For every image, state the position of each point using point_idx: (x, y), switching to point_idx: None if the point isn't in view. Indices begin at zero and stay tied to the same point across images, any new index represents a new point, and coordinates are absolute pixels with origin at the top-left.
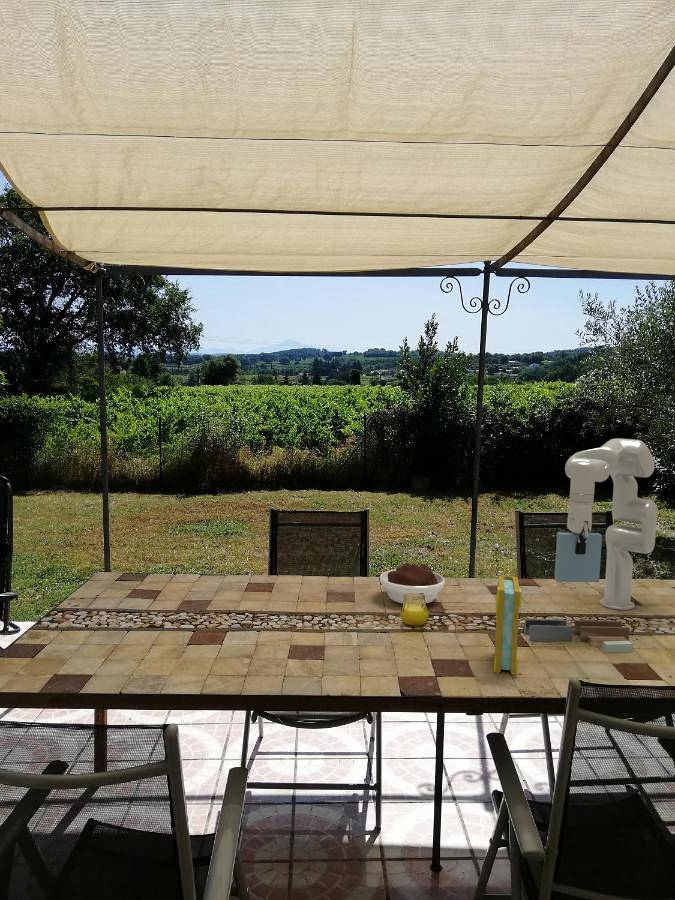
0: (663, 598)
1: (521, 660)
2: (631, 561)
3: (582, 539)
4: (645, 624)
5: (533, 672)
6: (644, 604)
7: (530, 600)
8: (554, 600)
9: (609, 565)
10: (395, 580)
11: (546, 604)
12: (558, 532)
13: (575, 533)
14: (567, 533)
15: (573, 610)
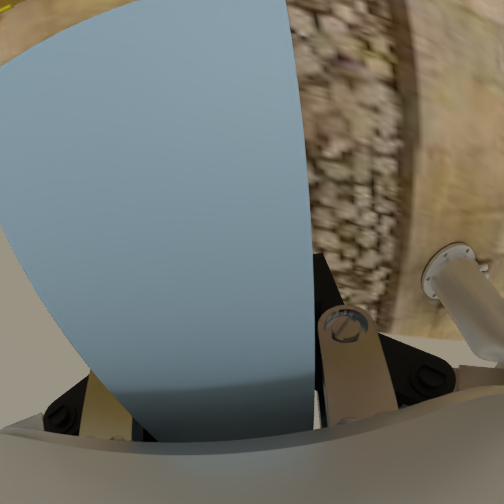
0: (454, 336)
1: (54, 3)
2: (477, 356)
3: (65, 402)
4: (346, 297)
5: (6, 38)
6: (440, 311)
7: (489, 97)
8: (488, 153)
9: (495, 311)
10: None
11: (469, 124)
12: (280, 25)
13: (247, 427)
14: (185, 323)
15: (434, 175)
